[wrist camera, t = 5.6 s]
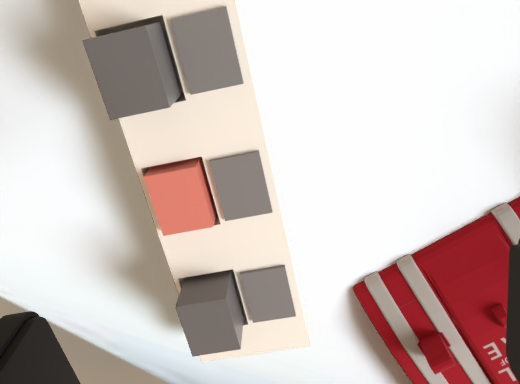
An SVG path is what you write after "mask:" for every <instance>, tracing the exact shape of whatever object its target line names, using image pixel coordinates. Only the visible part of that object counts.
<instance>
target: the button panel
mask: <svg viewBox="0 0 520 384" xmlns="http://www.w3.org/2000/svg"><path fill="white" fill-rule="evenodd" d="M78 1H79V4H80V7H81V10H82V13H83V16H84V19H85V22H86V25H87V28H88V30H89V33H90V36H91V38H94V37H98V36H101V35H105V34H109V33H114V32H118V31H122V30H127V29H131V28H135V27H140V26H144V25H148V24H153V23H157V22H161V24H162V28H163V32H164V35H165V39H166V42H167V46H168V49H169V53H170V56H171V60H172V64H173V67H174V71H175V74H176V78H177V81H178V85H179V88H180V92H181V95H180V96H179V98H178V99H177V100H176V101H175V102H174V103H173V104H172V106H171V107H170V108H165V109H161V110H156V111H151V112H146V113H142V114H137V115H132V116H127V117H123V118H119V121H120V124H121V127H122V130H123V133H124V136H125V139H126V142H127V145H128V148H129V151H130V154H131V156H132V159H133V162H134V165H135V168H136V171H137V174H138V177H139V180H140V183H141V186H142V189H143V192H144V195H145V197H146V200H147V203H148V206H149V209H150V212H151V215H152V218H153V221H154V224H155V227H156V230H157V233H158V236H159V239H160V241H161V244H162V247H163V250H164V253H165V256H166V259H167V262H168V265H169V268H170V271H171V274H172V277H173V280H174V282H175V285H176V288H177V291H178V294H180V291H181V288H182V284H183V281H184V278H185V277H191V276H197V275H203V274H209V273H214V272H220V271H226V270H231V274H232V277H233V281H234V284H235V288H236V291H237V295H238V298H239V302H240V306H241V309H242V313H243V316H244V319H243V330H242V341H241V349H240V350H233V351H226V352H220V353H213V354H206V355H200V359H201V362H206V361H213V360H220V359H226V358H233V357H240V356H247V355H254V354H260V353H267V352H274V351H281V350H287V349H294V348H301V347H308V346H310V338H309V328H308V318H307V312H306V307H305V302H304V298H303V293H302V288H301V284H300V279H299V274H298V270H297V265H296V260H295V256H294V251H293V246H292V242H291V237H290V232H289V228H288V223H287V218H286V214H285V209H284V204H283V199H282V195H281V190H280V185H279V181H278V176H277V171H276V167H275V162H274V157H273V153H272V148H271V143H270V139H269V134H268V129H267V125H266V120H265V115H264V111H263V106H262V101H261V97H260V92H259V87H258V83H257V78H256V73H255V69H254V64H253V59H252V55H251V50H250V45H249V41H248V36H247V31H246V26H245V22H244V17H243V12H242V8H241V3H240V0H78ZM197 157H202V159H203V163H204V166H205V170H206V174H207V177H208V181H209V184H210V188H211V192H212V195H213V199H214V202H215V206H216V210H217V214H216V218H215V222H214V226H213V227H211V228H205V229H199V230H194V231H188V232H183V233H177V234H172V235H166V236H163V234H162V231H161V228H160V225H159V222H158V219H157V216H156V213H155V210H154V207H153V204H152V201H151V198H150V195H149V192H148V189H147V186H146V183H145V180H144V176H145V174H146V173H147V171H148V170H149V169H150V167H151V166H156V165H161V164H166V163H171V162H176V161H182V160H187V159H192V158H197Z"/></svg>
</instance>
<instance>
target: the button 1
mask: <svg viewBox="0 0 520 384" xmlns="http://www.w3.org/2000/svg"><path fill="white" fill-rule="evenodd" d="M83 43H84V46H85V49H86V52H87V55H88V58H89V60H90V63H91V66H92V69H93V72H94V75H95V78H96V81H97V83H98V86H99V89H100V92H101V95H102V98H103V101H104V103H105V106H106V109H107V112H108V115H109V118H110V120H113V119H118V118H123V117H127V116H132V115H137V114H142V113H146V112H151V111H156V110H161V109H165V108H170V107H171V106H172V104H173V103H174V102H175V101H176V100H177V99H178V98H179V96H180V95H181V92H180V88H179V85H178V81H177V78H176V74H175V71H174V67H173V64H172V60H171V56H170V53H169V49H168V46H167V42H166V39H165V35H164V32H163V28H162V24H161V22H157V23H153V24H148V25H144V26H140V27H135V28H131V29H127V30H122V31H118V32H114V33H109V34H105V35H101V36H98V37H94V38H90V39H87V40H83Z"/></svg>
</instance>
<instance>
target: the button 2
mask: <svg viewBox="0 0 520 384" xmlns="http://www.w3.org/2000/svg"><path fill="white" fill-rule="evenodd" d="M144 180H145V183H146V186H147V189H148V192H149V195H150V198H151V201H152V204H153V207H154V210H155V213H156V216H157V219H158V222H159V225H160V228H161V231H162V234H163V236H166V235H172V234H177V233H183V232H188V231H194V230H199V229H205V228H211V227H213V226H214V222H215V218H216V214H217V210H216V206H215V202H214V199H213V195H212V192H211V188H210V184H209V181H208V177H207V174H206V170H205V166H204V163H203V159H202V157H197V158H192V159H187V160H182V161H176V162H171V163H166V164H161V165H156V166H151V167H150V169H149V170H148V171H147V173H146V174H145V176H144Z"/></svg>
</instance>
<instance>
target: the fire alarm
mask: <svg viewBox="0 0 520 384" xmlns="http://www.w3.org/2000/svg"><path fill="white" fill-rule="evenodd" d="M519 239H520V197H519V198H518V199H516V200H514V201H512V202H510V203H508V204H507V203H503V204H501V205H499V206H497V207H495V208H494V209H492V210H491V213H489V214H488V215H486V216H484V217H482V218H480V219H478V220H476V221H474V222H473V223H471V224H469V225H467V226H465V227H463V228H461V229H459V230H458V231H456V232H454V233H452V234H450V235H448V236H446V237H444V238H443V239H441V240H439V241H437V242H435V243H433V244H431V245H429V246H428V247H426V248H424V249H422V250H420V251H418V252H416V253H414V254H413V255H410V254H408V255H406V256H404V257H402V258H400V259H398V260H397V261H396V264H394V265H392V266H390V267H388V268H386V269H385V270H383V271H381V272H379V273H378V272H374V273H372V274H370V275H368V276H367V277H365V278H364V281H362V282H360V283H358V284H356V285H355V286H354V287H353V290H354V292H355V294H356V296H357V298H358V300H359V301H360V303H361V305H362V307H363V308H364V310H365V312H366V313H367V315H368V317H369V318H370V320H371V322H372V323H373V325H374V327H375V328H376V330H377V331H378V333H379V335H380V336H381V338H382V339H383V341H384V342H385V344H386V346H387V347H388V349H389V350H390V352H391V353H392V355H393V356H394V358H395V359H396V360H397V362H398V363H399V365H400V366H401V368H402V369H403V370H404V372H405V373H406V375H407V376H408V377H409V379H410V380H411V381H412V383H413V384H519V382H518V380H517V378H516V377H515V375H514V373H513V372H512V370H511V368H510V365H509V363H508V359H507V355H506V330H507V303H508V276H509V251H510V247H511V246H512V245H516V244H518V241H519Z"/></svg>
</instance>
